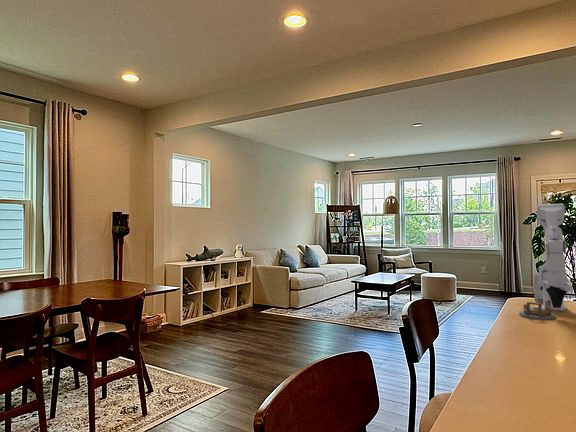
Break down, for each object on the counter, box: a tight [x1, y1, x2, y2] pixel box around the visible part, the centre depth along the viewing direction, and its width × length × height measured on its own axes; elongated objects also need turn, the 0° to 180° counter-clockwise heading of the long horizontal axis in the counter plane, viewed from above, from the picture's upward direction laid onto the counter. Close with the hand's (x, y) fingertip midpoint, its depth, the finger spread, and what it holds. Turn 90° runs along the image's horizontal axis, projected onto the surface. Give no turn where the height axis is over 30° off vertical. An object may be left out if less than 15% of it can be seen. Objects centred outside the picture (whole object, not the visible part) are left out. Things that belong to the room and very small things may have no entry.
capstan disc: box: [522, 300, 552, 315], centre depth 158 cm, size 9×9×5 cm
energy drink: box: [533, 273, 543, 303], centre depth 188 cm, size 5×5×12 cm
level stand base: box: [518, 301, 557, 321], centre depth 158 cm, size 12×12×6 cm
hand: (556, 307), depth 155 cm, fingers closed
